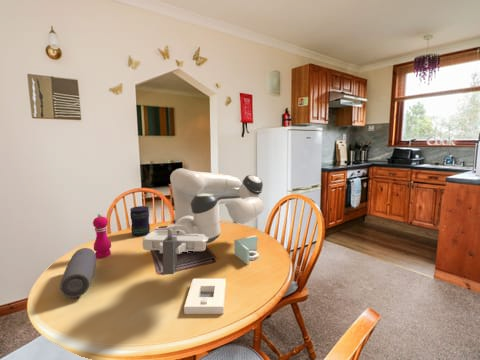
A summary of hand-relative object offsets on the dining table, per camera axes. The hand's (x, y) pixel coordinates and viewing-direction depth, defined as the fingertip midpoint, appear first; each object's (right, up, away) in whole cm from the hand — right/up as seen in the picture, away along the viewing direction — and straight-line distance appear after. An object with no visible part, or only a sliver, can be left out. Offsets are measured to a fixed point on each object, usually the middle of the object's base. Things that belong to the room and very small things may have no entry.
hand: (169, 251), depth 76 cm
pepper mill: (-42, -14, +42) cm, 61 cm away
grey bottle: (0, -6, +1) cm, 7 cm away
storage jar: (-35, -10, +69) cm, 78 cm away
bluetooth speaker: (-38, -18, +19) cm, 46 cm away
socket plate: (+10, -19, +10) cm, 23 cm away
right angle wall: (+27, -15, +41) cm, 51 cm away
